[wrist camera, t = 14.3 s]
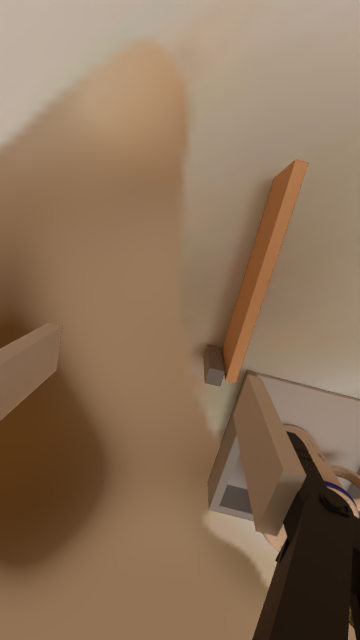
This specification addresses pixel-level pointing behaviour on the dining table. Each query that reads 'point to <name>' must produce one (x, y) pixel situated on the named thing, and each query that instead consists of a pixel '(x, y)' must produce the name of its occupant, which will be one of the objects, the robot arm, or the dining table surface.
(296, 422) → the grey tray
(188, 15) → the dining table surface
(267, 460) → the robot arm
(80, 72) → the dining table surface
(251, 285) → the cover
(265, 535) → the teacup with lid
